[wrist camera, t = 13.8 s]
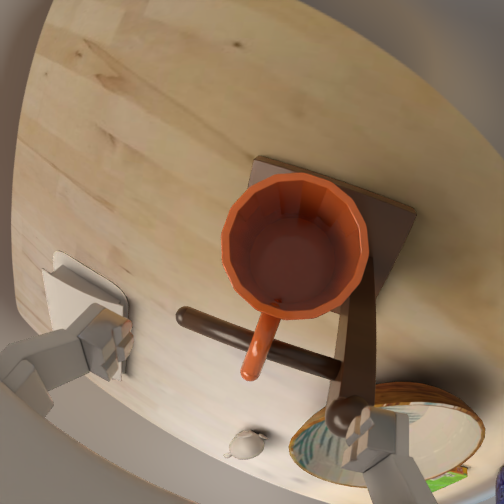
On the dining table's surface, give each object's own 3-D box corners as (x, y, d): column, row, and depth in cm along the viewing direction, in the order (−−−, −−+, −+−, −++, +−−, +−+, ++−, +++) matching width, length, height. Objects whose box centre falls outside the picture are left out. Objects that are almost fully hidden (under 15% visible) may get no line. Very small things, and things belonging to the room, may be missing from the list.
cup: (263, 202, 23) (250, 155, 15) (350, 231, 22) (384, 199, 14) (215, 337, 22) (176, 363, 14) (302, 368, 21) (310, 412, 13)
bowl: (345, 457, 46) (338, 495, 39) (266, 378, 40) (248, 427, 33) (484, 420, 33) (489, 462, 27) (457, 312, 27) (473, 370, 21)
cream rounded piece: (233, 434, 44) (215, 443, 52) (248, 461, 41) (226, 466, 50) (266, 420, 47) (242, 432, 55) (280, 446, 45) (254, 454, 53)
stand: (258, 155, 26) (127, 260, 11) (414, 208, 24) (472, 376, 9) (233, 268, 33) (142, 411, 18) (363, 312, 31) (347, 481, 16)
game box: (467, 464, 41) (398, 497, 52) (440, 456, 41) (369, 491, 52) (468, 476, 39) (397, 508, 49) (441, 470, 39) (368, 502, 49)
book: (64, 336, 53) (52, 349, 50) (51, 244, 41) (34, 257, 38) (125, 378, 52) (115, 392, 49) (130, 292, 40) (113, 310, 36)
